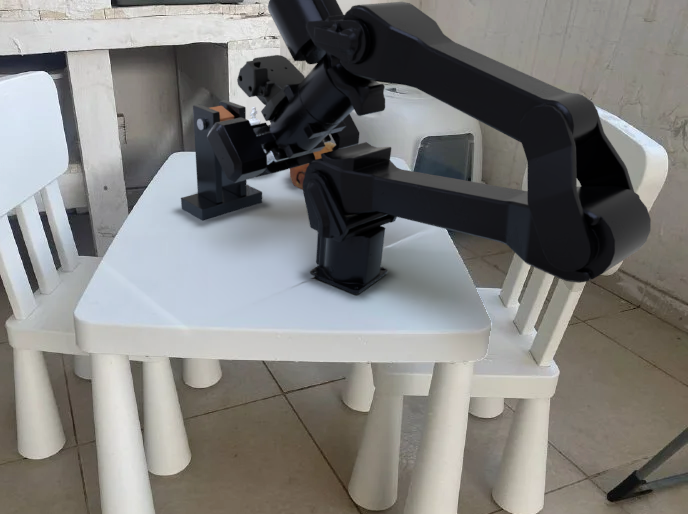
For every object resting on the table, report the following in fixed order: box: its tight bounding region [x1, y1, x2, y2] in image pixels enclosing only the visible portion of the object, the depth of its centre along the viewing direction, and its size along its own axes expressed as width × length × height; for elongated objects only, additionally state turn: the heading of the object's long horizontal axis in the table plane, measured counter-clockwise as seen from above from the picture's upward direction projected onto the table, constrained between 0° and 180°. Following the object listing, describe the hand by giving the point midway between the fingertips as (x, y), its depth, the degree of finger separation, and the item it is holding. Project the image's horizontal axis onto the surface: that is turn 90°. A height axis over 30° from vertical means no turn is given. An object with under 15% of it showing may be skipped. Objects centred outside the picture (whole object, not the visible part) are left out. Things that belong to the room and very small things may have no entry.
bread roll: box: [289, 141, 336, 190], centre depth 92 cm, size 10×10×8 cm
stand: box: [180, 99, 263, 222], centre depth 80 cm, size 5×10×14 cm, turn 131°
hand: (255, 173), depth 75 cm, fingers closed
